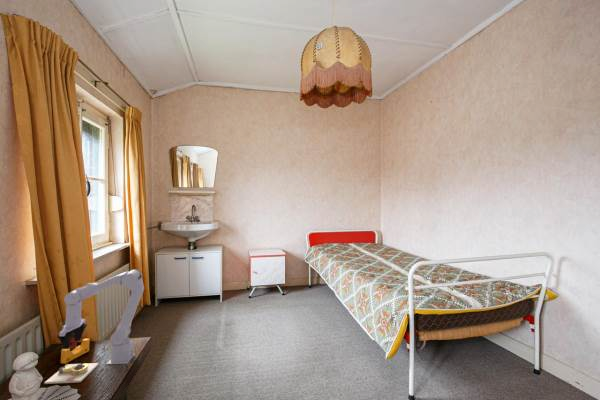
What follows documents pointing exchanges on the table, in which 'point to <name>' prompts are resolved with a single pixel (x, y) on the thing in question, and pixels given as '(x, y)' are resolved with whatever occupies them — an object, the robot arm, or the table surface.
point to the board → (70, 378)
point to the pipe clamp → (75, 351)
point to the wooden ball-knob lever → (73, 369)
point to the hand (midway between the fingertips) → (72, 344)
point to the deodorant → (73, 343)
